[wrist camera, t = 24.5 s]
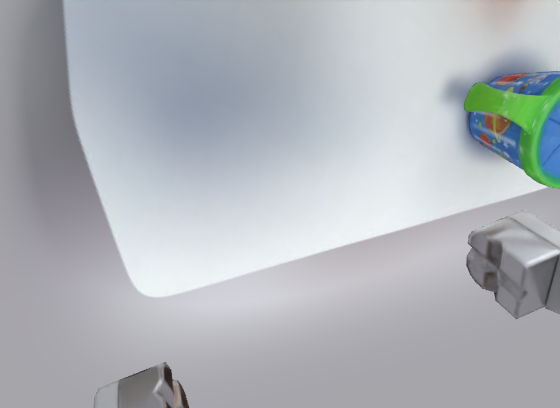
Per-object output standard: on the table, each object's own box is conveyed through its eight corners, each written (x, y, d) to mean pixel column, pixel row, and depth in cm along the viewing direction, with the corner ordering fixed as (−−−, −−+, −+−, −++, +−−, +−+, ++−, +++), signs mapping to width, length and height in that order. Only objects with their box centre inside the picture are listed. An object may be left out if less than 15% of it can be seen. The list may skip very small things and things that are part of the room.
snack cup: (569, 92, 44) (671, 109, 35) (515, 176, 47) (598, 211, 38) (472, 28, 38) (567, 28, 29) (418, 129, 41) (488, 157, 32)
